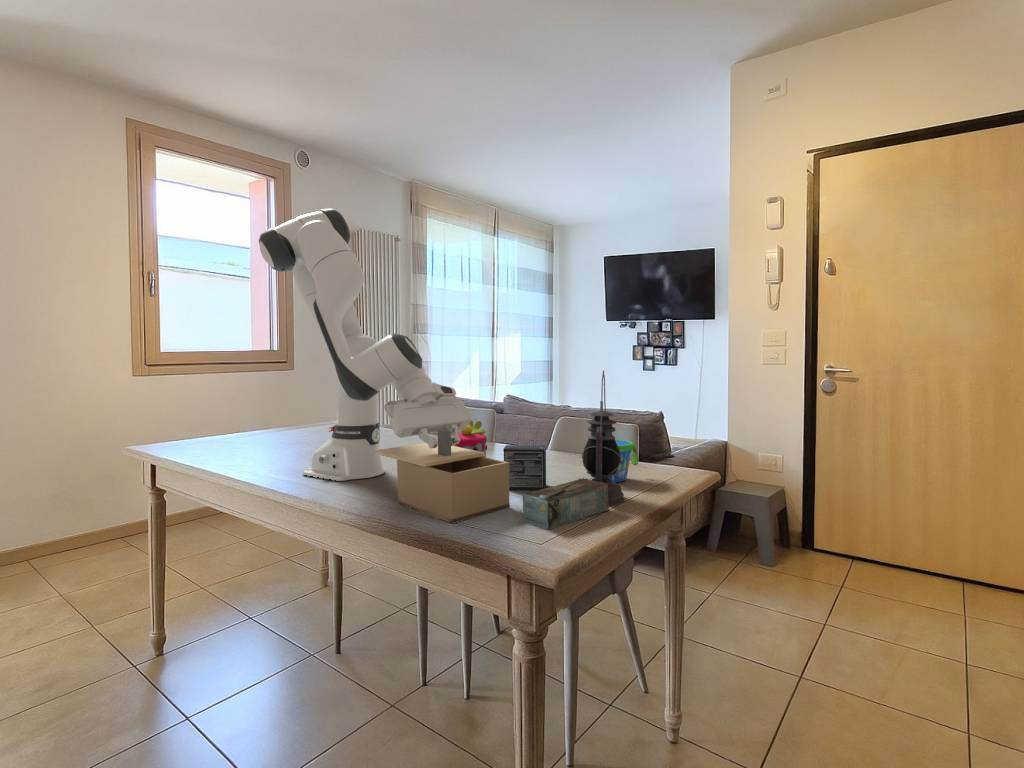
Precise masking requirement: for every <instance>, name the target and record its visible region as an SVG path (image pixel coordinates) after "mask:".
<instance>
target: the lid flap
mask: <svg viewBox="0 0 1024 768" xmlns="http://www.w3.org/2000/svg"><path fill="white" fill-rule="evenodd" d="M451 436H452V433H451V431H447V430H438V432H437V441H438V446H437V447H436V448H431V449H430V448H429V446H428V444H427V443H425V442H422V443H421V442H420V443H415V444H407V445H401V446H395V447H387V448H381V449H380V450H375V454H378V455H381V457H382V456H383V457H386V458H390V459H394V460H396V461H397V460H401V461H405V462H408V463H412V464H416V465H419V466H423V467H428V466H434V465H439V464H444V463H450V462H455V461H460V460H465V459H471V458H476V457H481V456H485V452H480V451H475V450H470V449H465V448H460V447H456V446H451Z"/></svg>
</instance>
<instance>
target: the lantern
mask: <svg viewBox="0 0 1024 768" xmlns="http://www.w3.org/2000/svg"><path fill="white" fill-rule="evenodd" d="M600 389H601V397H600V398H601V399H600V402H599V404H600V406H599V409H600V411H592V412H591V413H589V414H588V415H589V416H591V417H594V418H592V419H590V420H587V421H586V423H587V424H590V426H588V427H587V431H588V432H590V434H589V436H587V438H588V439H587V441H586V444H585V446H584V448H583V451H582V454H581V459H582V466H583V468H584V469H585V471H586V474H588V475H590V476H591V478H590V480H595V481H598V482H602V483H608V497H609V500H608V503H609V506H616V505H619V504H622V503H624V502H625V497H624V495H625V494H624V492H622V487H621V484H619V483H618V482H611V480H610V479H608V478H611V477H612V476H613V475H615V474H616V471H617V469H618V468H619V466H620V464H621V463H622V460H621V454H620V451H619V448H618V446H617V444H616V441H615V440H616V436H614V434H613V433H614V432H616V427H613V425H616V424H617V421H616V420H613V419H611V418H610V417H613V416H614V415H615V414H614V413H612V412H609V411H607V410H606V409H607V408H606V407H607V406H606V405H607V404H606V377H605V370H602V375H601V388H600ZM603 398H604V399H603ZM603 400H604V401H603Z"/></svg>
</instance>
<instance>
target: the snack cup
mask: <svg viewBox="0 0 1024 768" xmlns="http://www.w3.org/2000/svg"><path fill="white" fill-rule="evenodd" d="M615 441H616V444H617V446H618V448H619V451H620V454H621V460H622V463H621V464H620V466H619V468H618V469H617V471H616V474H615V475H613V476H612V477H611V478H608V479H610V480H611V482H614V483H621V482H625V481H626V480H627V478H628V472H629V469H630V468H629V466H630V461H631V465H632V466H637V465H638V464H639V454H638V453H639V452H638V449H637V447H636V445H635V444H634V443H633V441H629V440H623V439H615ZM631 454H632V457H631Z"/></svg>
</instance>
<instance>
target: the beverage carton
mask: <svg viewBox="0 0 1024 768" xmlns="http://www.w3.org/2000/svg"><path fill="white" fill-rule="evenodd" d="M608 500H609V497H608V483H602V482H598V481H595V480H592V479H588V478H584V477H582V478H578V479H575V480H571V481H568V482H566V483H565V482H564V483H560V484H556V485H555V486H551V487H546V488H545V489H541V490H533V491H529V492H526V493H523V494H522V521H523V522H525V523H528V524H531V525H533V524H534V525H535V526H536V527H539V528H542V529H545V530H551V529H554V528H558V527H561V526H565V525H568V524H570V522H571V523H573V522H577V521H579V520H582V519H585V518H588V517H591V516H595V515H597V514H601V513H603V512H606V511H609V510H610V508H609V506H610V505H609V503H608ZM564 524H565V525H564Z"/></svg>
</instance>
